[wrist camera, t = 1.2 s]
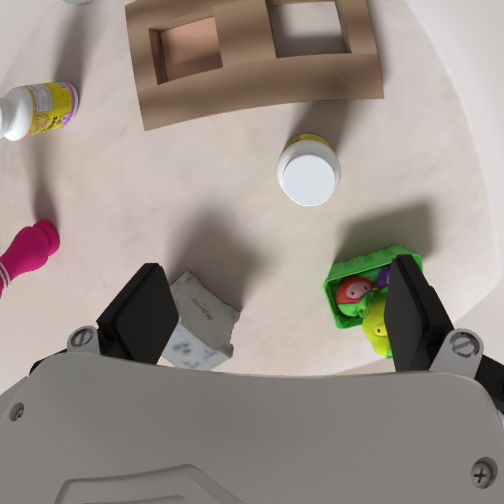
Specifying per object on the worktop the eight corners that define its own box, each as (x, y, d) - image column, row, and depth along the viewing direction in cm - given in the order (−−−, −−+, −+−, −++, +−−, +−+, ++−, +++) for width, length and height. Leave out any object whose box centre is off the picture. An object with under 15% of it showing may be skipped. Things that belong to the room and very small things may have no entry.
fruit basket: (406, 231, 30) (442, 286, 21) (414, 288, 34) (440, 349, 24) (319, 257, 34) (322, 322, 24) (337, 310, 38) (342, 376, 28)
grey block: (247, 309, 40) (231, 366, 31) (208, 331, 43) (188, 383, 34) (196, 261, 37) (165, 312, 28) (161, 289, 41) (130, 338, 32)
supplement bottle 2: (295, 123, 27) (293, 131, 19) (342, 147, 27) (360, 167, 19) (273, 167, 30) (261, 195, 21) (318, 190, 30) (324, 227, 22)
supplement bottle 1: (54, 132, 31) (-15, 156, 20) (47, 92, 28) (-22, 106, 17) (84, 117, 29) (9, 137, 18) (77, 73, 26) (2, 80, 15)
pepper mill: (35, 210, 38) (-49, 271, 21) (61, 225, 38) (-26, 296, 21) (37, 244, 42) (-36, 306, 25) (62, 259, 42) (-12, 331, 25)
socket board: (138, 11, 22) (124, 5, 19) (348, -30, 17) (352, -41, 14) (157, 128, 29) (144, 131, 27) (376, 98, 24) (384, 98, 21)
